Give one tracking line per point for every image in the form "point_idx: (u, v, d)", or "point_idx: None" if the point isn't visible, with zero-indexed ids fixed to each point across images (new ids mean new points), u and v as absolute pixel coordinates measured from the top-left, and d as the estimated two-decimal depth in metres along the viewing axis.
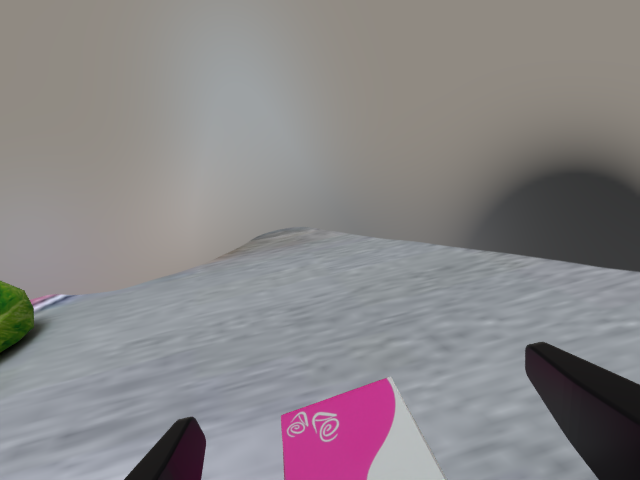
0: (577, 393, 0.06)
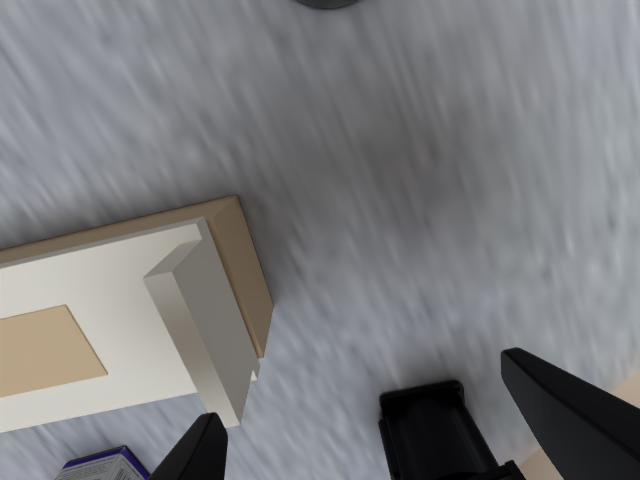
0: (546, 399, 0.06)
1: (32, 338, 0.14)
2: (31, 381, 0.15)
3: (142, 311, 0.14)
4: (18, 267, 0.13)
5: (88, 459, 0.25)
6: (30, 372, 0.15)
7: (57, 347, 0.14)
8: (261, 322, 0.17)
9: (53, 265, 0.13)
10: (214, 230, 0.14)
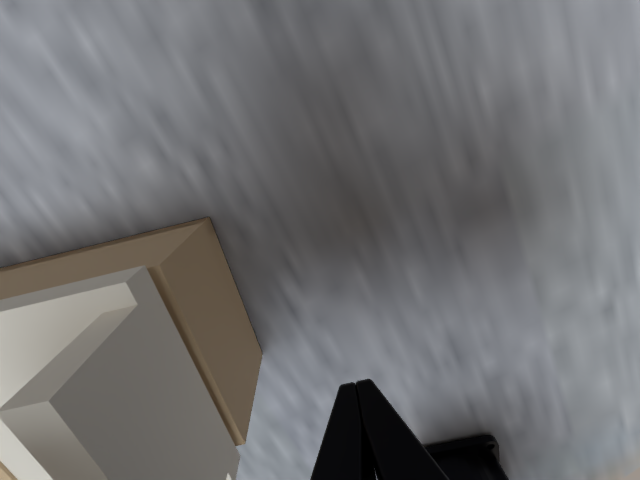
0: (366, 436, 0.06)
1: None
2: None
3: None
4: None
5: None
6: None
7: None
8: (243, 390, 0.13)
9: None
10: (164, 283, 0.09)
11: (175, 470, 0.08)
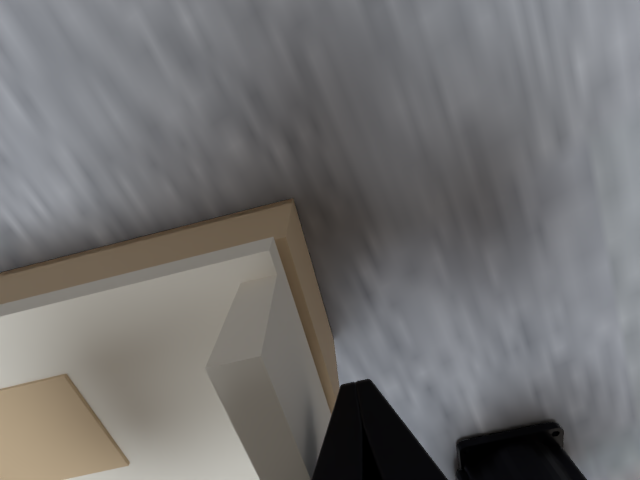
0: (365, 436, 0.06)
1: (17, 422, 0.09)
2: (19, 475, 0.10)
3: (181, 380, 0.09)
4: None
5: None
6: (17, 465, 0.10)
7: (55, 432, 0.10)
8: (333, 371, 0.13)
9: (45, 319, 0.08)
10: (288, 255, 0.09)
11: (317, 442, 0.08)
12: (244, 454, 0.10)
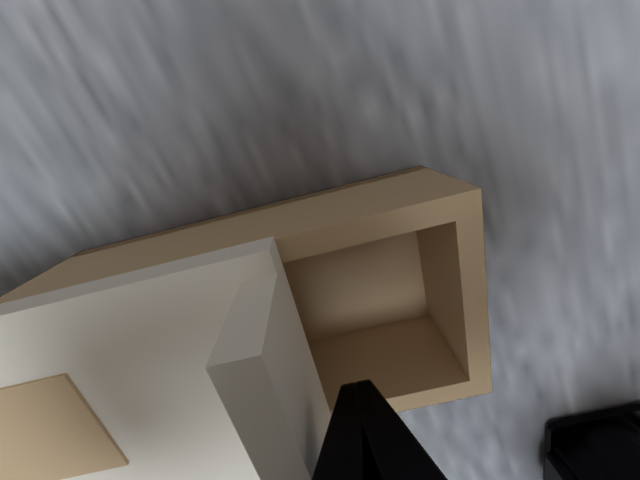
0: (365, 436, 0.06)
1: (17, 421, 0.09)
2: (18, 475, 0.10)
3: (180, 379, 0.09)
4: None
5: None
6: (17, 465, 0.10)
7: (54, 432, 0.10)
8: None
9: (45, 318, 0.08)
10: (479, 208, 0.09)
11: (317, 441, 0.08)
12: (244, 453, 0.10)
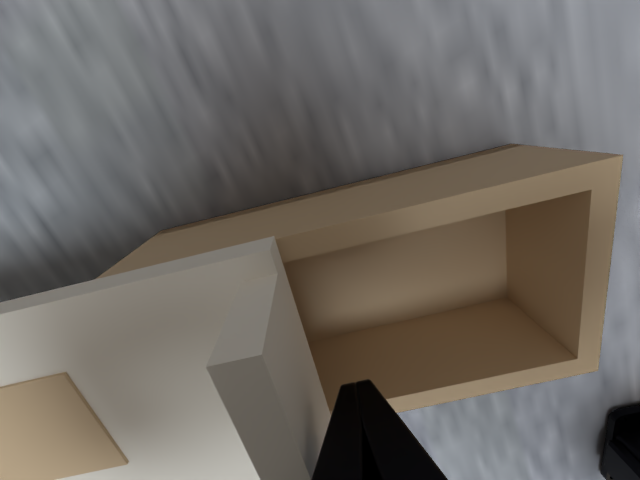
0: (365, 436, 0.06)
1: (16, 420, 0.09)
2: (18, 473, 0.10)
3: (180, 379, 0.09)
4: None
5: None
6: (16, 464, 0.10)
7: (54, 431, 0.10)
8: None
9: (45, 317, 0.08)
10: (618, 176, 0.09)
11: (317, 441, 0.08)
12: (243, 453, 0.10)
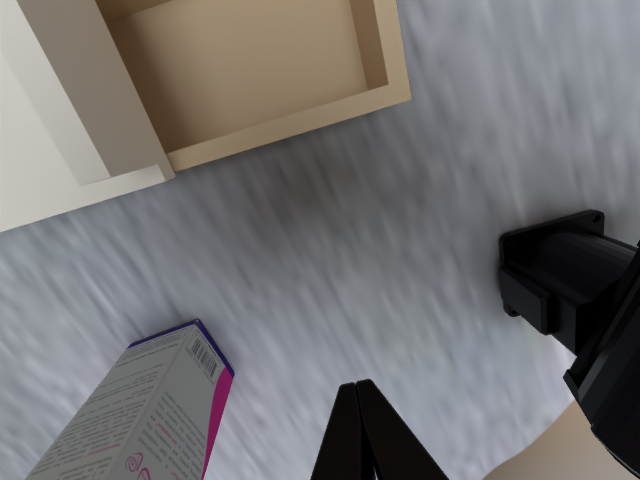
0: (366, 436, 0.06)
1: None
2: None
3: None
4: None
5: (156, 336, 0.21)
6: None
7: None
8: None
9: None
10: None
11: (88, 77, 0.09)
12: None
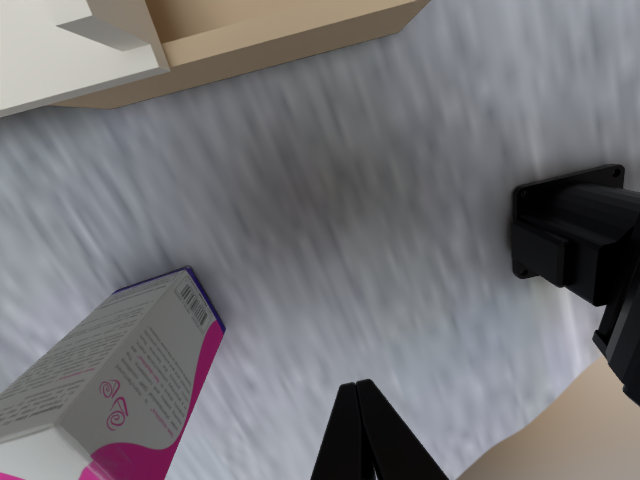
0: (366, 436, 0.06)
1: None
2: None
3: None
4: None
5: (144, 282, 0.20)
6: None
7: None
8: None
9: None
10: None
11: None
12: (55, 42, 0.10)
